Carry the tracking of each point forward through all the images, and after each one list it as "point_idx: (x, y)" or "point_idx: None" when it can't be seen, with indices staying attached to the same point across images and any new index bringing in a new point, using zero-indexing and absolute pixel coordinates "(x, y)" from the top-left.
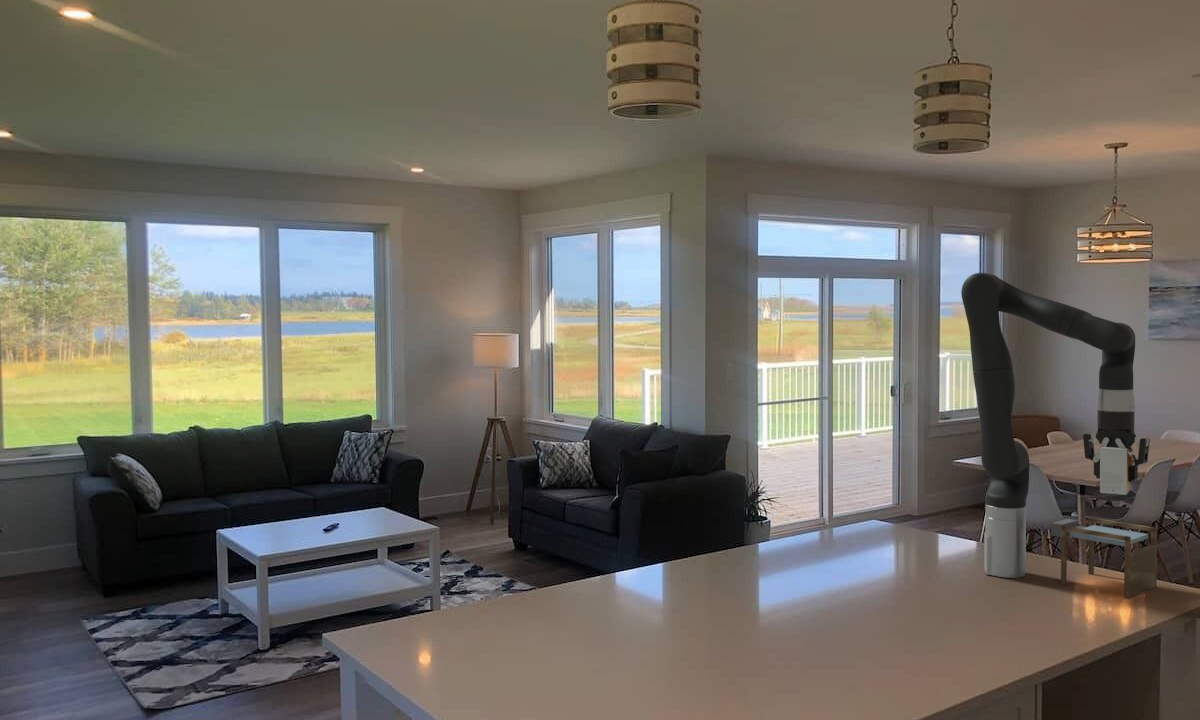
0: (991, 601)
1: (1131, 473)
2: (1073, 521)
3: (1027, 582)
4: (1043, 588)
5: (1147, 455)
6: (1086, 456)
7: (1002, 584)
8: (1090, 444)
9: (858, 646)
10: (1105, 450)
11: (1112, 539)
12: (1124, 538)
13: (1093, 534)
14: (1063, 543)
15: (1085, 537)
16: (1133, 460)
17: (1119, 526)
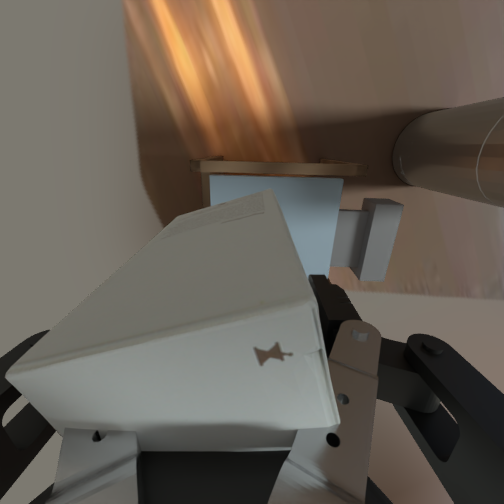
0: None
1: None
2: (363, 264)
3: (376, 122)
4: (340, 104)
5: (5, 429)
6: (438, 342)
7: (412, 65)
8: (496, 484)
9: None
10: (242, 301)
11: (240, 180)
12: (201, 160)
13: (279, 162)
14: (346, 162)
15: (302, 177)
16: None
17: None
